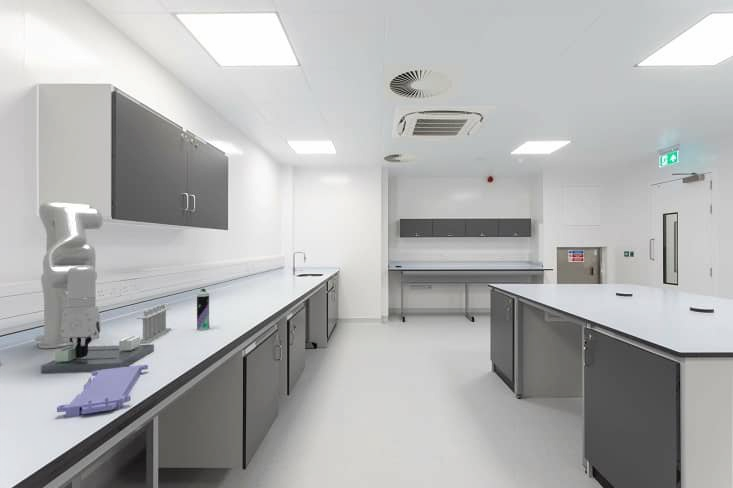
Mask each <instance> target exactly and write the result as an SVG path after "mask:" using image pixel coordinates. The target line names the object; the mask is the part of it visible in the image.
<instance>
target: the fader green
mask: <svg viewBox="0 0 733 488" xmlns="http://www.w3.org/2000/svg"><path fill="white" fill-rule="evenodd" d="M74 358H76V354H75V346H73V345H70V346H65V347H61V348H60V349H57V350H54V360H55V362H62V361H70V360H72V359H74Z"/></svg>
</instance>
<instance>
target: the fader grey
mask: <svg viewBox="0 0 733 488" xmlns="http://www.w3.org/2000/svg"><path fill="white" fill-rule="evenodd" d="M140 340H141V337H140V336H136V335H132V336H127V337H125V338H122V339H120V340H119V343H118V346H119V351H120V350H132V349H134V348H136V347H138V346H140V345H141V344H140Z"/></svg>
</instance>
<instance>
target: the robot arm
mask: <svg viewBox="0 0 733 488" xmlns="http://www.w3.org/2000/svg"><path fill="white" fill-rule="evenodd" d="M38 209H39V210H38V212H39V217H40V220H41V222H42V224H43V227H44V228H45V232H46V233H45V234H46V244H45V245H46V249H45V250H46V253H45V255H44V256H43V261H42V271H43V273H42V274H41V277H40V281H41V282H40V283H41V288H42V292H43V293H42V294H43V312H44V313H43V334H38V335H36V337H35V338H34V341H35V342H38V341H39V342H41V343H39V344H38V348H39V349H46V350H47V349H48V350H49V349H58V348H65V347H67V346H75V354H76V358H83V357H85V356H87V354H88V346H89V344H90V343H91V342H92V341H95V340H98V339H99V338H100V332H101V317H100V311H99V308H98V305H97V304H96V301H97V299H96V295H97V294H96V293H97V292H96V291H97V290H96V286H97V285H96V281H97V277H98V274H97V272H98V271H97V269H96V262H97V261H96V258H97V257H96V255H97V254H96V250H95V247H94V245H92V244H91V243H88V241H87V235H86V230H98V229H101V227H102V225H103V215H102V213H101V212H102V211H100V209H99V208H97V207H96V206H95V205H93V204H91V203H90V204H89V203H80V202H66V201H65V202H64V201H46V202H42V203H41V204H40V205H39V208H38Z"/></svg>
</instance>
